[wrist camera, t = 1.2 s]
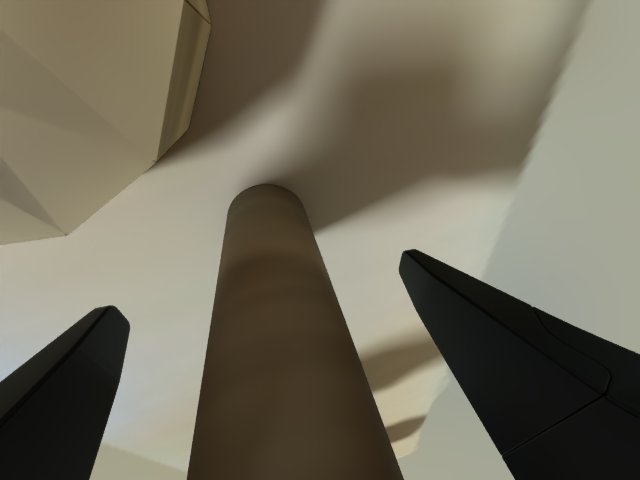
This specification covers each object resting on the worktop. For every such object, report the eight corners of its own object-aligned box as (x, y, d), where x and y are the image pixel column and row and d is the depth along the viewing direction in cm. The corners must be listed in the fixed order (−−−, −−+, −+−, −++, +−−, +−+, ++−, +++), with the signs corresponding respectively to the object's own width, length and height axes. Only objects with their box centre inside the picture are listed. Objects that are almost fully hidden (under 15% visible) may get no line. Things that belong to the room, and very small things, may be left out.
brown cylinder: (307, 243, 12) (421, 604, 4) (238, 255, 11) (208, 701, 3) (302, 179, 10) (514, 655, 2) (217, 190, 9) (25, 916, 1)
